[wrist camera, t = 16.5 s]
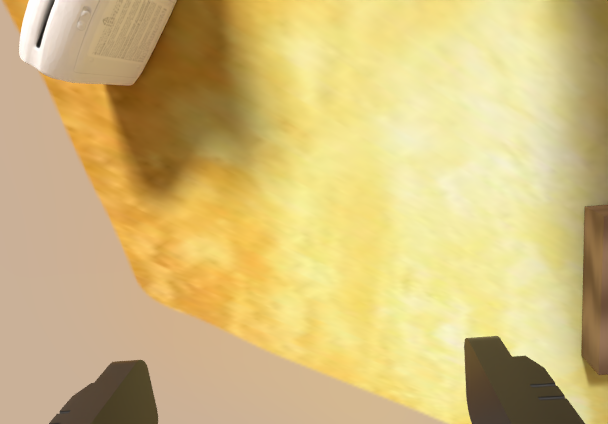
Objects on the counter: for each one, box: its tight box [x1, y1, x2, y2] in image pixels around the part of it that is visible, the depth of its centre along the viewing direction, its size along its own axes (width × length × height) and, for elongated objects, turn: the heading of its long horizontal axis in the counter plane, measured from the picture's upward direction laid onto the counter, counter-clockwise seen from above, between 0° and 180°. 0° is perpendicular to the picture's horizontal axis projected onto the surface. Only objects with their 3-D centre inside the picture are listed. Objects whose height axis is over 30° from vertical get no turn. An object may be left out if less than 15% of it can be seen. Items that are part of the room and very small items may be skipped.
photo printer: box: [19, 0, 177, 86], centre depth 33 cm, size 10×4×12 cm, turn 149°
